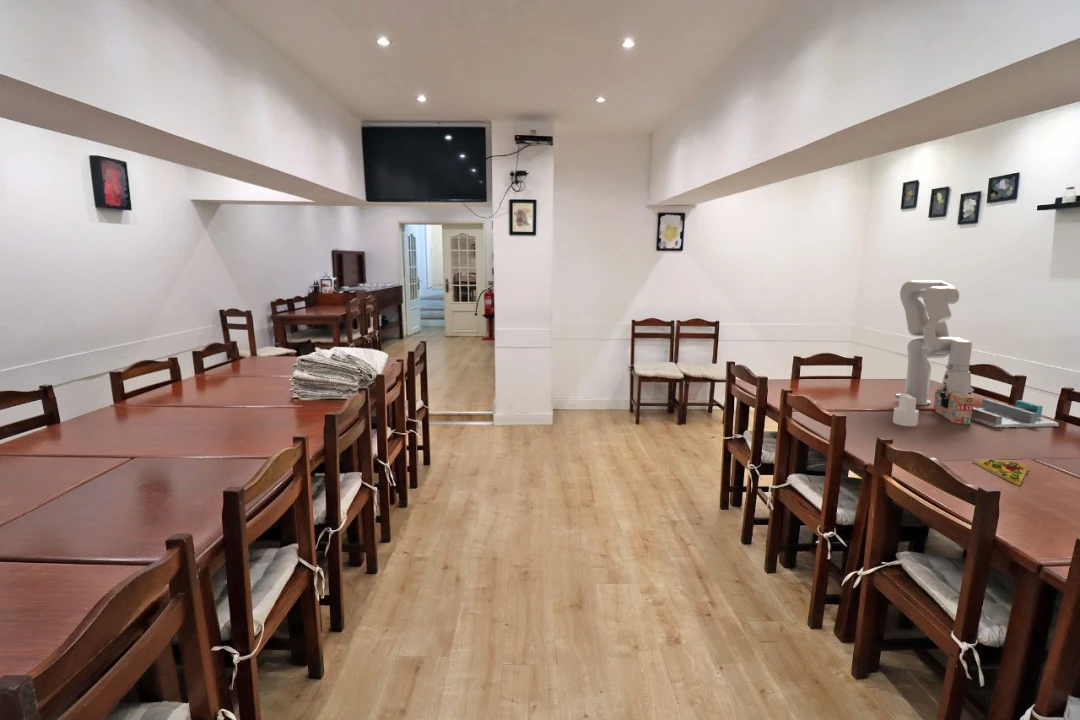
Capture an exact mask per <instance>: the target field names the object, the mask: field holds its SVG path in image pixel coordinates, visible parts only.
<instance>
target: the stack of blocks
mask: <svg viewBox="0 0 1080 720" xmlns="http://www.w3.org/2000/svg"><path fill="white" fill-rule="evenodd" d="M942 393H943V391H942ZM945 395H946V394H945ZM941 399H942V398H941V397H940V395H939V394H938V392H937V391H935V393H934V402H933V411H934V410H935V411H934V412H936V413H937V414H938V413H939V415H940V414H941V415H942V417H943V416H944V417H943V418H945V419H946V418H947V420H948V421H949V420H950V421H949V422H951V423H952V422H953V423H952V424H954V423H960V424H959V425H967V424H970V425H971V422H972V420H971V416H972V411H973V407H974V405H975V404H974V403H975V397H974V396H972V395H970V394H967V393H951V394H950V395H949V397H948V398H947V399H948V400H949V401H948V407H947V408H944V407H942V406H941ZM941 415H940V416H941Z"/></svg>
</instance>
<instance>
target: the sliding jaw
mask: <svg viewBox="0 0 1080 720" xmlns="http://www.w3.org/2000/svg"><path fill="white" fill-rule="evenodd" d="M981 408H985V409H988V410H991V411H994V412H997V413H1001V414H1004V415H1007V416H1010V417H1013V418H1016V419H1019V420H1023V421H1026V422H1029V423H1036V418H1038V417H1041V418H1042V414H1043V413H1042V412H1043V405H1040V404H1036V403H1033V402H1030V401H1029V402H1028V401H1025V400H1022V399H1020V400H1019V399H1018V400H1017V399H1016V401H1015V406H1013V405H1009V404H1006V403H1003V402H999V401H996V400H992V399H990V398H984V399H983V398H982V405H981Z"/></svg>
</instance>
